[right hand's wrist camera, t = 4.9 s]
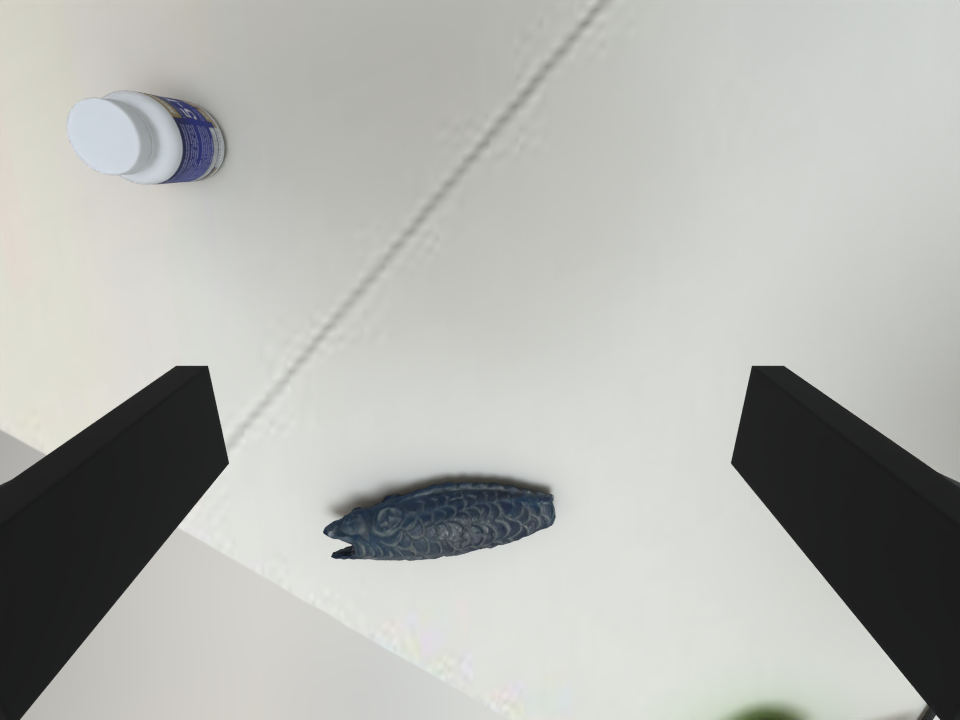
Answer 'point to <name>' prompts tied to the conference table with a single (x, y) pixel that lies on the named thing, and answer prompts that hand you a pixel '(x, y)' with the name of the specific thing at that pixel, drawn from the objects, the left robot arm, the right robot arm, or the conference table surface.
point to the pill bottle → (145, 138)
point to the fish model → (442, 522)
